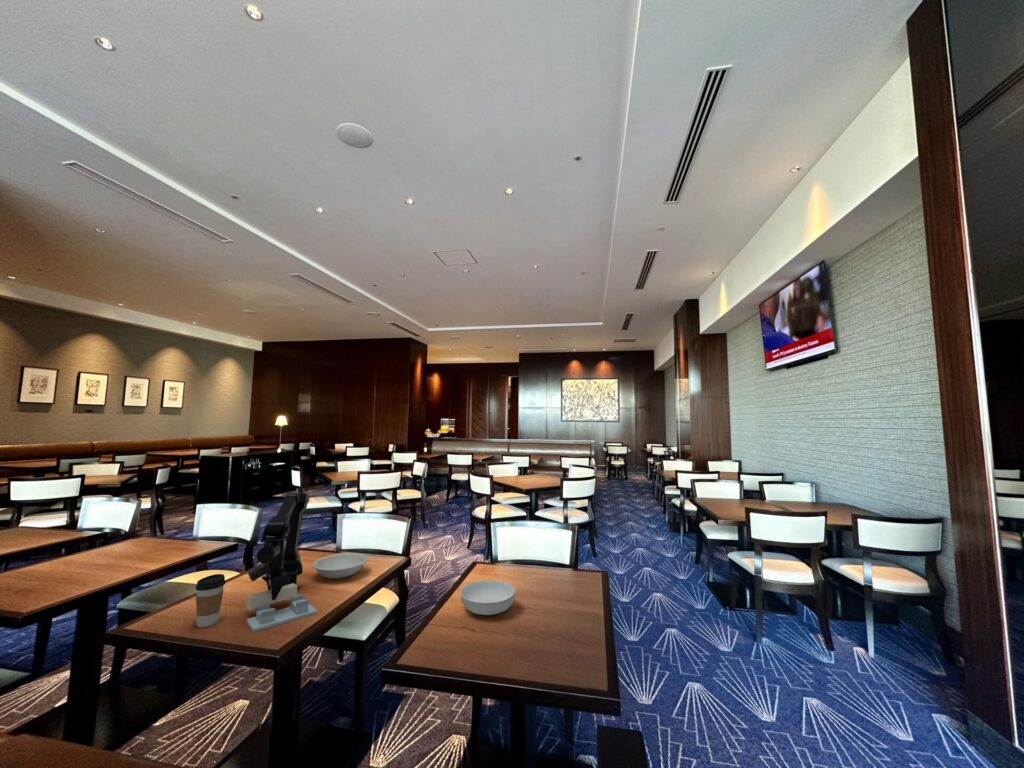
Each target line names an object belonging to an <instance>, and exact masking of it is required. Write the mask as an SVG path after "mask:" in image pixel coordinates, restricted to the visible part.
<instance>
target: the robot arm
mask: <svg viewBox="0 0 1024 768" xmlns="http://www.w3.org/2000/svg"><path fill="white" fill-rule="evenodd" d="M309 502H310V495H309V494H307V492H298V491H297V492H291V491H290V492H287V493H285V495H284V500H283V502H282V504H281V505H280V507H279V508H278V511H277V513H276V515H274V516H273V517H271V518H270V519H269V521H267V523H266V524H265V526H264V529H263V532H262V536H261V539H260V543H263V546H262V547H261V548H259V550H258V551H257V553H256V559H257V561H258V562H259V564H258V565H255V566H253V567H251V568H250V569H248V570H247V571H246V572H247V574H248V577H249V580H251V582H255V581H257V580H259V578H261V579H262V580H263V581H264V582H266V586H267V590H271V595H272V600H275V599H276V598H277V596H278V594H279V592H280V590H281V588H282V587H283V586H285V585H289V584H292V583H294V584H296V585H297V584H298V582H297V581H298V576H300V575H301V574H303V569H304V567H303V564H302V561H301V555H300V553H299V551H298V544H299V537H300V536H299V535H300V530H301V523H302V522H301V521H302V515H303V513H305V510H306V509H307V508H308V504H309ZM299 590H300V587H299V586H298V585H297V591H299Z"/></svg>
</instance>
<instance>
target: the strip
mask: <svg viewBox="0 0 1024 768" xmlns="http://www.w3.org/2000/svg"><path fill="white" fill-rule="evenodd" d="M297 586H298V585H296V584H294V583H292V584H289V585H285V586H283V587H282V588H281V590H280V592H279V594H278V596H277V598H276V599H275V600H272V595H271V590H268V589H267V590H265V591H260V592H257V593H253V594H249V595H246V605H245V606H246V607H245V608H246V609H247V610H249V611H252V610H255V609H257V606H258V605H262V604H266V603H269V602H270V605H272V604H276V603H279V602H282V601H285V600H290V599H291V597H293V596H297V595H298V590H297Z"/></svg>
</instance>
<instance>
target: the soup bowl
mask: <svg viewBox="0 0 1024 768" xmlns="http://www.w3.org/2000/svg"><path fill="white" fill-rule="evenodd" d="M368 561H369V557H368V556H367V555H366V554H363V553H356V552H344V553H336V554H330V555H326V556H322V557H319V558H318V559H316V560H314V561H313V562H312V563H311V567H312V568H313V569H315V570H316V571H317V573H318V574H319V575H320V576H322V577H325V578H328V579H342V578H347V577H350V576H353V575H355V574H356V573H357V572H359V571H360V570H361V569H362V568H363V566H364V565H365V564H366V563H367V562H368Z"/></svg>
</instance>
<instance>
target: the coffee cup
mask: <svg viewBox="0 0 1024 768" xmlns="http://www.w3.org/2000/svg"><path fill="white" fill-rule="evenodd" d="M196 582H197V583H196V585H195V589H194V590H196V595H195V603H196V627H198V628H206V627H211V626H213V625H215V624H217V623H218V621H219V618H220V617H219V616H220V610H221V605H222V601H223V595H224V585H226V578H225V575H224V573H218V574H217V573H216V574H212V575H208V576H205V577H203V578H200V579H199V580H198V581H196Z"/></svg>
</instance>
